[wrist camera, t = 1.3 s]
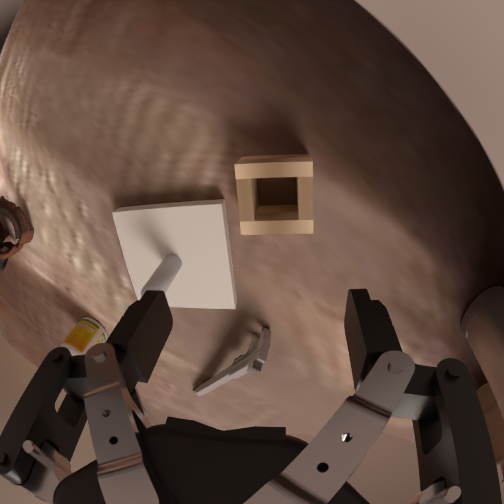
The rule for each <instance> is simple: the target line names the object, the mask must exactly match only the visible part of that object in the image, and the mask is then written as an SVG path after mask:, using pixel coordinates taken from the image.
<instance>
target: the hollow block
mask: <svg viewBox="0 0 504 504" xmlns="http://www.w3.org/2000/svg"><path fill="white" fill-rule="evenodd" d="M234 166H235V176H236V187H237V197H238V207H239V217H240V227H241V235H260V234H313V161H312V159H311V157H310V155H309V154H280V155H257V156H242V157H241V158H240V159H239V160H238V161H237V162H236V163H235V164H234ZM275 177H296V184H297V205H259V201H258V187H257V178H275Z"/></svg>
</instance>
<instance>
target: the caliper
mask: <svg viewBox="0 0 504 504" xmlns="http://www.w3.org/2000/svg"><path fill="white" fill-rule="evenodd" d="M270 338H271V331H270V330H268V329H267V328H265V327H263V328H262V331H261V335H259V334H257V333H256V334H255V335H254V337H253V339H252V342H251V344H250V346H249V349H248V351H247V353H246V354H245V355H240V356H239V357H238V358H236V359H235V360H234V362H233V365H231V366H230V367H228V368H227V369H225V370H223V371H222V372H220V373H219V374H217V375H216V376H214V377H212V378H211V379H209V380H208V381H206V382H204V383H203V384H201V385H200V386H199V387H198V388H197V389H196V390H194V391H193V393H195V394H196V395H198V396H202V395H204V394H205V393H207V392H209V391H211V390H213V389H215V388H217V387H219V386H220V385H222V384H224V383H226V382H228V381H229V380H231V379H233V378H234V379H237V378H239V377H241V376H242V375H244V374H246V373H250V374H253V375H255V373H256V371H259V372H260V371H261V367H262V364H263V363H264V362H265V361H266V358H267V354H268V351H269V347H270Z"/></svg>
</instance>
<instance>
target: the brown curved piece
mask: <svg viewBox="0 0 504 504" xmlns="http://www.w3.org/2000/svg"><path fill="white" fill-rule="evenodd" d="M0 213H2V214H4V215H6V216H7V217H8V218H9V219H10V221H11V222H12V224H13V226H14V229H15V235H16V239H18V238H19V240H18V242H17V244H15V245H14V244H12V243H11V242H3V241H4V240H5V238H6V237H7V236H8V235H9V233H8V232H7V231H6V230H5V229H4V228H3V226H2V224H1V222H0V271H3V270H4V268H5V267H6V264H7V261H8V258H9V257H11V256H12V255H14V254H16V253H17V252H18V251H19V250H20V249H21V248H22V247H23V245H24V244H25V243H28V242H30V241H31V240H32V238H33V234H34V230H33V229H31V226H30V224H29V222H28V220H27V218H26V216H25V215H24V213H23V212H22V210H21V208H20V207H16V205H15V203H13V202H10V201H7V200H6V199H5V198H4V196H2V197H1V198H0Z"/></svg>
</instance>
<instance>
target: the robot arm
mask: <svg viewBox="0 0 504 504" xmlns="http://www.w3.org/2000/svg"><path fill="white" fill-rule="evenodd" d="M172 326H173V318H172V314H171V311H170V308H169V305H168V302H167V298H166V295H165V293H164V291H162V290H146V291H145V293H144V294H143V296H142V297H141V299H140V300H137V301H136V302H134V303H133V304H132V305H130V306H129V307H128V309H127V310H126V312H125V313H124V316H122V318H121V319H120V322H118V324H117V325H116V327H115V328H114V330H113V331H112V333H111V334H110V336H109V337H108V339H107V341H106V342H105V343H98V344H96V345H94V346H92V347H91V348H90V349H88V351H87V352H86V354H85V355H74V356H72V354H71V353H70V351H69V349H68V348H66V347H57V348H55V349H53V350H52V351H50V352H49V353H48V355H47V356H46V357H45V359H44V361H43V362H42V364H41V365H40V367H39V368H38V370H37V372H36V373H35V375H34V377H33V378H32V380H31V381H30V383H29V384H28V387H27V388H26V390H25V391H24V393H23V395H22V396H21V398H20V400H19V402H18V403H17V405H16V407H15V409H14V411H13V412H12V414H11V416H10V418H9V420H8V422H7V424H6V426H5V428H4V430H3V432H2V434H1V436H0V475H1V476H3V477H4V478H6V479H7V480H9V481H10V482H11V483H12V484H13V485H15V486H17V487H19V488H20V489H22V490H23V491H25V492H27V493H28V494H30V495H33V496H35V497H37V498H39V499H41V500H42V501H45V502H48V503H50V504H370V503H369V502H368V501H366V500H365V499H364V498H363V497H362V496H361V495H360V494H359V493H358V492H357V491H356V490H355V489H354V488H353V487H352V486H351V485H350V484H349V483H348V482H347V480H348V479H349V478H350V476H351V475H352V473H353V472H354V471H355V470H356V468H357V467H358V466H359V464H360V463H361V461H362V460H363V459H364V457H365V456H366V454H367V453H368V451H369V450H370V449H371V447H372V446H373V444H374V443H375V441H376V440H377V438H378V436H379V435H380V433H381V432H382V430H383V429H384V427H385V425H386V424H387V422H388V420H389V419H390V417H391V416H392V417H398V418H406V419H412V421H413V427H414V434H415V441H416V448H417V456H418V465H419V476H420V489H421V492H420V493H419V494H417V495H416V496H414V497H413V498H412V499H411V501H410V502H409V504H502V500H501V492H500V484H499V478H498V472H497V467H496V462H495V457H494V452H493V448H492V443H491V439H490V435H489V432H488V428H487V424H486V421H485V417H484V414H483V411H482V408H481V404H480V401H479V398H478V395H477V392H476V390H475V387H474V384H473V381H472V378H471V376H470V373H469V371H468V368H467V367H466V365H465V364H464V363H462V362H461V361H459V360H457V359H454V358H447V359H444V360H442V361H440V362H439V364H438V365H437V367H429V366H422V365H418V364H415V363H414V361H413V359H412V358H411V357H410V356H409V355H407V354H406V353H404V352H402V349H401V346H400V343H399V340H398V338H397V335H396V332H395V329H394V327H393V325H392V321H391V319H390V318H389V314H388V311H387V309H386V307H385V306H384V305H383V304H382V303H381V302H380V301H379V300H371V299H370V296H369V294H368V291H367V289H349V291H348V296H347V304H346V312H345V320H344V327H345V335H346V340H347V345H348V351H349V357H350V362H351V368H352V375H353V381H354V387H355V394H354V395H353V396H349V397H348V398H347V399H346V400H345V401H344V402H343V404H342V405H341V406H340V408H339V409H338V410H337V411H336V413H335V414H334V415H333V416H332V418H331V419H330V420H329V421H328V422H327V424H326V425H325V426H324V427H323V428H322V430H321V431H320V432H319V433H318V434H317V435H316V437H315V438H314V439H313V440H312V441H311V442H310V443H309V444H308V443H307V442H305V441H303V440H301V439H299V438H296V437H293V436H289V435H286V427H257V426H254V427H248V428H241V429H234V430H226V431H222V430H218V429H216V428H213V427H210V426H207V425H204V424H202V423H199V422H196V421H193V420H186V419H180V418H174V417H168V418H167V421H166V423H165V424H161V425H155V426H152V425H151V424H150V422H149V420H148V417H147V415H146V412H145V409H144V407H143V404H142V401H141V398H140V396H139V393H138V390H137V388H136V384H137V382H138V381H139V382H144V383H148V380H149V378H150V376H151V374H152V371H153V369H154V367H155V365H156V363H157V360H158V358H159V356H160V354H161V351H162V349H163V347H164V345H165V343H166V341H167V338H168V336H169V334H170V332H171V330H172ZM461 329H462V332H463V334H464V335H465V337H466V339H467V341H468V343H469V345H470V347H471V348H472V351H473V353H474V355H475V356H476V358H477V360H478V362H479V364H480V367H481V369H482V371H483V373H484V375H485V377H486V379H487V381H488V384H489V386H490V388H491V390H492V393H493V395H494V397H495V400H496V402H497V405H498V407H499V409H500V412H501V414H502V417H503V420H504V287H502V286H494V287H491V288H488V289H487V290H485V291H483V292H482V293H481V294H479V295H478V296H477V297H476V298H475V299H474V300H473V302H472V303H471V304H470V305H469V307H468V308H467V310H466V312H465V314H464V316H463V319H462V322H461ZM62 388H63V389H64V390H65V392H66V393H67V394H66V396H65V398H64V400H63V402H62V404H61V406H60V408H59V410H58V412H56V410H55V402H56V400H57V397H58V396H59V394H60V392H61V390H62ZM87 419H88V424H89V429H90V434H91V438H92V443H93V447H94V451H95V455H96V460H94V461H93V462H91V463H89V464H88V465H86V466H84V467H83V468H81V469H79V470H78V471H76V472H74V473H72V471H71V465H70V461H71V458H72V455H73V452H74V450H75V448H76V445H77V442H78V440H79V438H80V435H81V433H82V431H83V428H84V426H85V423H86V421H87Z"/></svg>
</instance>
